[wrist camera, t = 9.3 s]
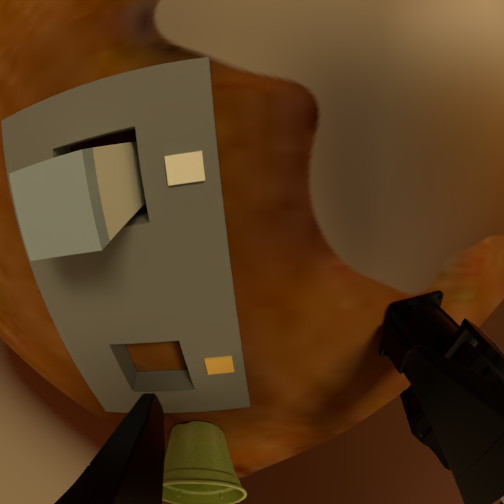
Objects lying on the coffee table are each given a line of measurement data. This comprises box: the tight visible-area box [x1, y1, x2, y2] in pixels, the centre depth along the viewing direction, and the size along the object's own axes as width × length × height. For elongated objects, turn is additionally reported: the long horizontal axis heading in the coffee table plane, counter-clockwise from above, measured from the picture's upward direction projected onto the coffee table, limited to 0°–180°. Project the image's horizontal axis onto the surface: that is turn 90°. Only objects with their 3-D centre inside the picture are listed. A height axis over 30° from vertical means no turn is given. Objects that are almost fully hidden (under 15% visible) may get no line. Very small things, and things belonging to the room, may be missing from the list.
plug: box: [9, 142, 146, 261], centre depth 13 cm, size 4×4×8 cm
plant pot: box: [162, 421, 247, 504], centre depth 24 cm, size 9×9×9 cm
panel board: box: [1, 57, 251, 413], centre depth 18 cm, size 14×26×3 cm, turn 5°
